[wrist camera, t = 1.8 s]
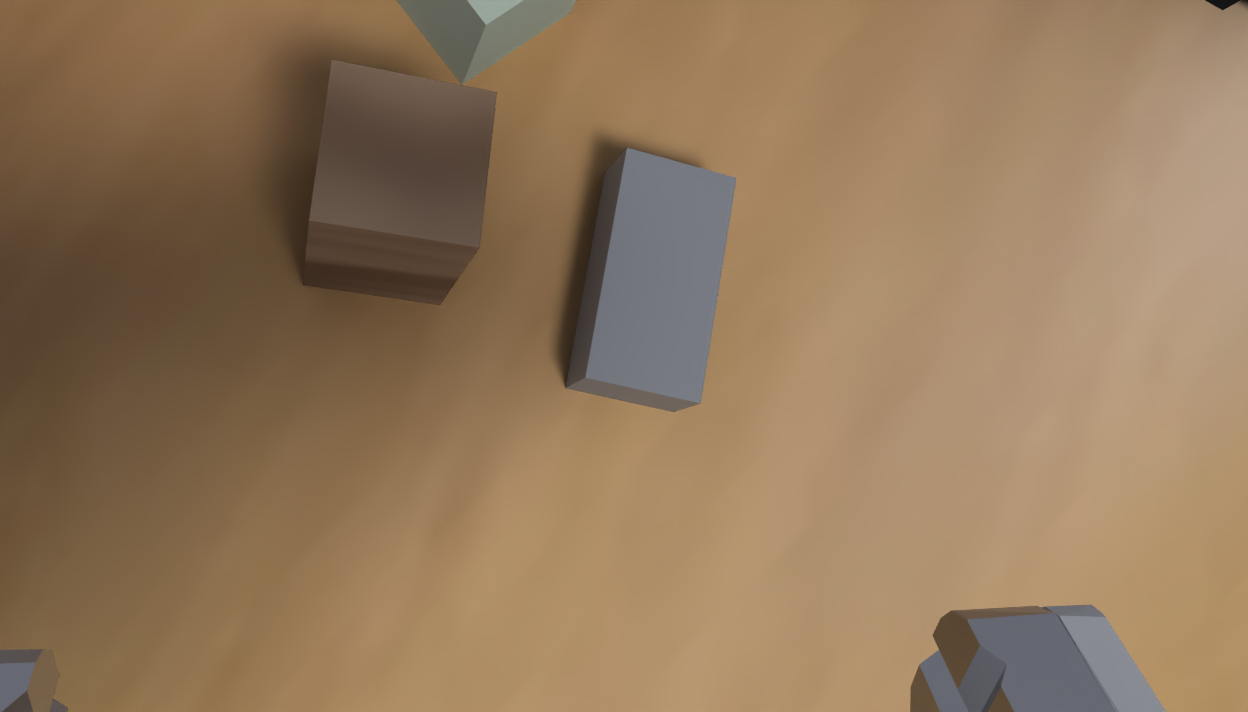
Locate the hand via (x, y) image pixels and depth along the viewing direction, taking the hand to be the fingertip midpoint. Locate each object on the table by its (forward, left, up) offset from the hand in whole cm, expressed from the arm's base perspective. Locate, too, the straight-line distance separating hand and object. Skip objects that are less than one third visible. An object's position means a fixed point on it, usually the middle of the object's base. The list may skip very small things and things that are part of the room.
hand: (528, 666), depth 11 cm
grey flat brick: (+14, +1, -27) cm, 31 cm away
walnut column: (+8, +8, -27) cm, 30 cm away
